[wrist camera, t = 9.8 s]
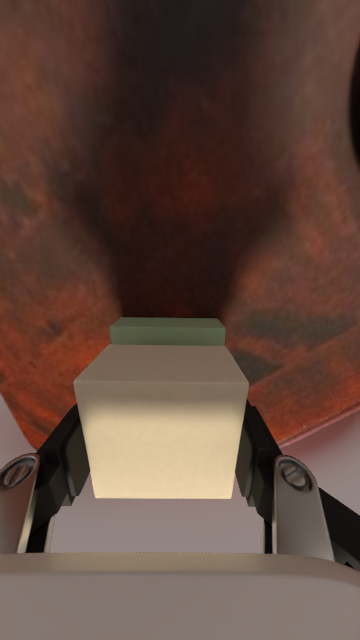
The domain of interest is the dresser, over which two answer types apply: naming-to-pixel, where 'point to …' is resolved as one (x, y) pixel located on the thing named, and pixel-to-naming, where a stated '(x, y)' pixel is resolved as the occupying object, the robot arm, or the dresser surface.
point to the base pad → (167, 331)
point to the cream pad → (162, 420)
